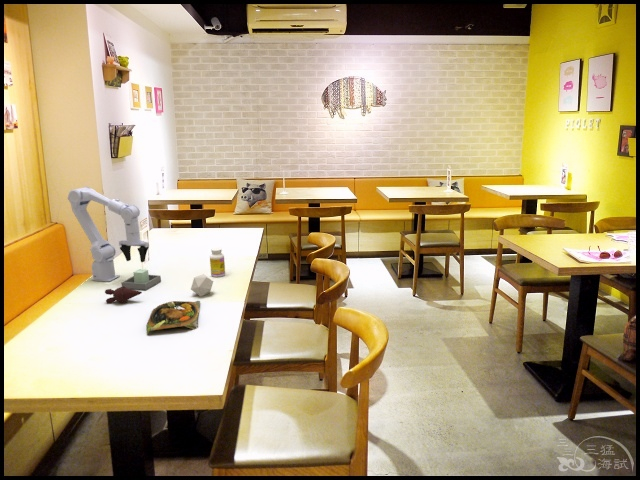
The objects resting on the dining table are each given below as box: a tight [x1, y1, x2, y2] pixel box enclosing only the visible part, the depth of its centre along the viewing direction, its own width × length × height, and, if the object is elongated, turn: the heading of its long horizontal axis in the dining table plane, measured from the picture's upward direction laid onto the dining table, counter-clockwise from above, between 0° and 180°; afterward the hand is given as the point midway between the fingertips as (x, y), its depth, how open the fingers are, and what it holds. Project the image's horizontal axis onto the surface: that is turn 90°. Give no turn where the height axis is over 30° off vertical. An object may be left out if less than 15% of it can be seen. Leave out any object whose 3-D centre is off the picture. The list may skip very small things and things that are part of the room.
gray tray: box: [120, 274, 162, 292], centre depth 222 cm, size 12×12×3 cm
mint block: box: [132, 269, 150, 284], centre depth 222 cm, size 4×4×6 cm
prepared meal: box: [145, 300, 201, 335], centre depth 185 cm, size 28×4×18 cm
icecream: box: [104, 286, 143, 304], centre depth 202 cm, size 7×7×15 cm
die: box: [190, 273, 214, 297], centre depth 208 cm, size 8×9×10 cm
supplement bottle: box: [209, 247, 226, 278], centre depth 232 cm, size 7×7×13 cm
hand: (135, 261), depth 227 cm, fingers open, 7 cm apart
